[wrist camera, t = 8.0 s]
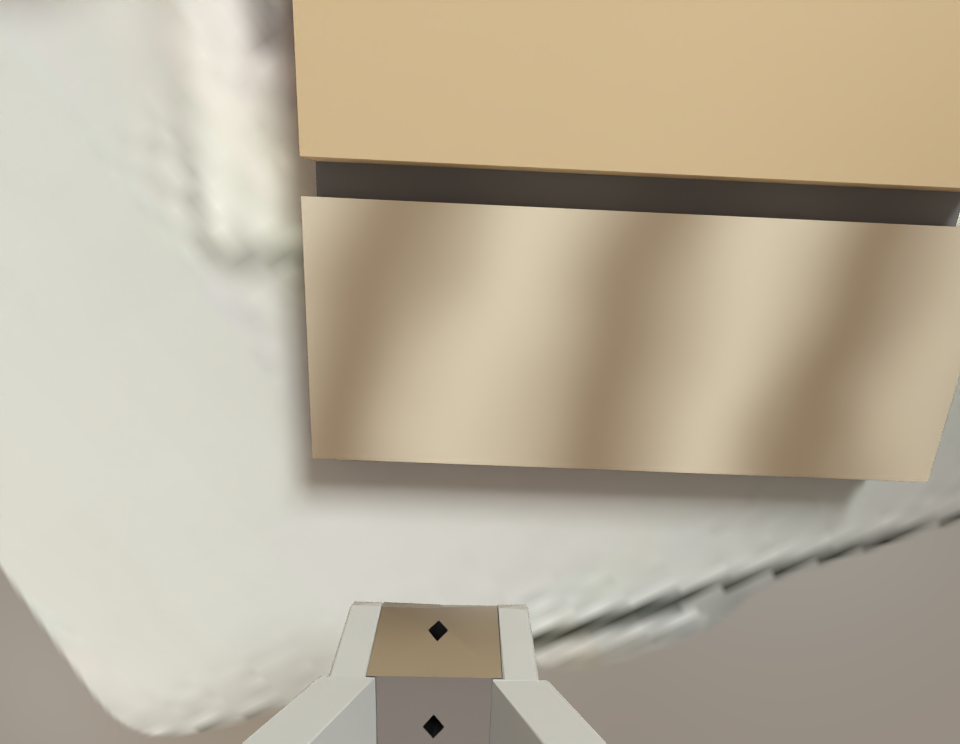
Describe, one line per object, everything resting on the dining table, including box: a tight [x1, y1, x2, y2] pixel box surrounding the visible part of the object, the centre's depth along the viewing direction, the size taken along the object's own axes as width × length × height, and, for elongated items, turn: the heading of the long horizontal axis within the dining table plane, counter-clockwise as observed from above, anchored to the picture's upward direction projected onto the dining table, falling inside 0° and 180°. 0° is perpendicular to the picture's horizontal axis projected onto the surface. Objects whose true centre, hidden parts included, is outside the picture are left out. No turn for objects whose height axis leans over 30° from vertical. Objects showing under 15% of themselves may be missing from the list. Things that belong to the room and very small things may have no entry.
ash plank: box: [301, 196, 960, 482], centre depth 16 cm, size 19×8×2 cm, turn 87°
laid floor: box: [293, 0, 960, 227], centre depth 16 cm, size 19×17×2 cm
